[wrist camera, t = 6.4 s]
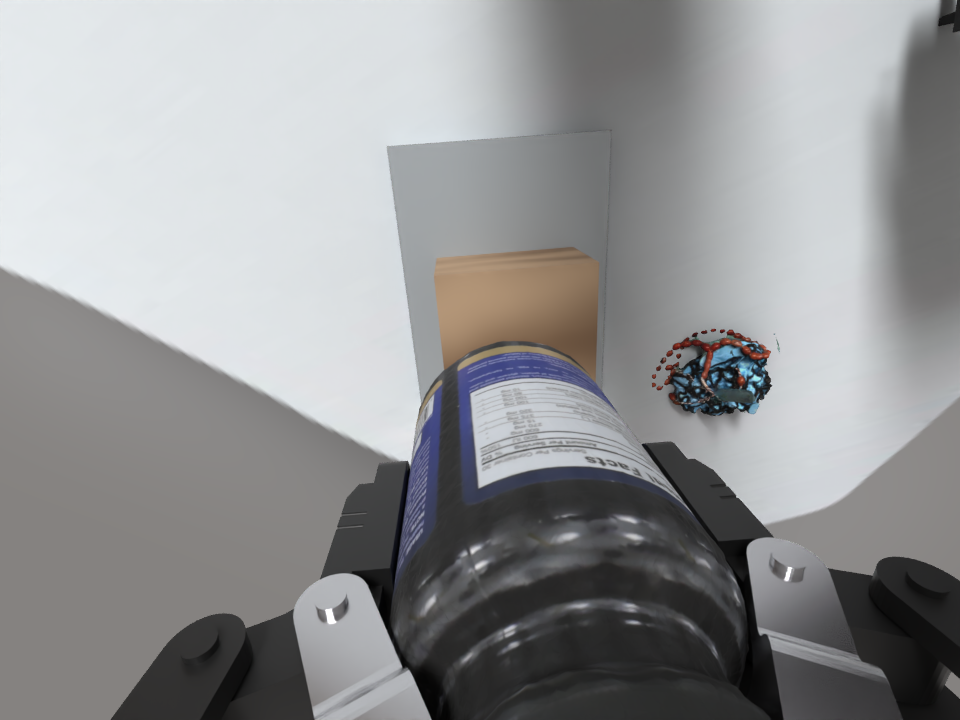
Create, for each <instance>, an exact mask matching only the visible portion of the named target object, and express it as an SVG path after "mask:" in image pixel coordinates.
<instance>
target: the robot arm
mask: <svg viewBox="0 0 960 720" xmlns="http://www.w3.org/2000/svg"><path fill="white" fill-rule="evenodd" d="M642 446H643V448H644V449H645V450H646V452H647V453H648V454H649V456H650V457H651V459H652V460H653V461H654V463H655V464H656V465H657V467H658V468H659V469H660V471H661V472H662V474H663V475H664V476H665V478H666V479H667V480H668V481H669V483H670V484H671V485H672V487H673V488H674V490H675V491H676V492H677V493H678V494H679V496H680V497H681V499H682V500H683V502H684V503H685V504H686V506H687V507H688V508H689V509H690V511H691V512H692V513H693V515H694V516H695V518H696V519H697V520H698V522H699V523H700V524H701V526H702V527H703V528H704V529H705V531H706V532H707V533H708V535H709V536H710V537H711V538H712V539H713V540H714V541H715V542H716V544H717V545H718V547H719V548H720V549H721V551H722V552H723V553H724V555H725V559H726V562H727V563H728V564H729V566H730V567H731V569H732V571H733V573H734V575H735V577H736V579H737V584H738V586H739V588H740V590H741V594H742V596H743V599H744V602H745V610H746V614H747V622H748V647H749V651H748V653H747V656H746V662H745V669H744V672H743V674H742V679H741V682H740V686H739V688H738V689H739V690H740V691H741V693H742V694H743V695H744V696H745V697H746V698H747V699H748V700H749V701H750V702H752V703H753V704H755V705H756V706H758V707H760V708H761V709H763V710H764V711H765V713H766V714H767V715H768V716H769V717H770V719H771V720H960V699H959V698H958V697H957V696H956V695H955V694H954V693H953V692H952V691H950V690H949V689H948V688H947V687H946V686H945V683H946V681H947V679H948V677H949V675H950V673H951V671H952V672H953V673H954V674H955V675H956V676H957V677H958V678H960V581H959V580H958V579H956V578H954V577H953V576H951V575H950V574H948V573H946V572H944V571H943V570H940V569H939V568H936V567H934V566H932V565H929V564H927V563H924V562H921V561H918V560H914V559H910V558H904V557H888V558H884V559H882V560H880V561H879V562H878V564H877V566H876V569H875V571H874V574H873V576H871V575H864V574H858V573H852V572H846V571H840V570H834V569H829V568H827V567H826V565H825V564H824V563H823V562H822V561H821V560H820V559H819V558H818V557H817V556H816V555H815V554H813V553H812V552H810V551H809V550H807V549H806V548H803V547H802V546H800V545H798V544H795V543H793V542H790V541H787V540H783V539H779V538H774V537H773V536H772V535H771V533H770V532H769V531H768V530H767V529H766V528H765V527H764V526H763V525H762V523H761V522H760V521H759V520H758V519H757V518H756V517H755V516H754V515H753V514H752V512H751V511H750V510H749V509H748V508H747V507H746V506H745V505H744V504H743V502H742V501H741V500H740V499H739V498H736V495H735V494H734V493H733V491H732V490H731V489H730V488H729V487H726V484H725V483H724V481H723V480H722V479H721V478H720V477H719V476H718V475H717V474H716V473H715V472H714V470H712V469H711V468H709V467H707V466H706V465H704V464H702V463H701V462H699V461H697V460H696V459H687V458H686V457H685V456H684V454H683V453H682V452H681V451H680V450H679V448H678V447H677V446H676V445H675V444H674V443H673V442H658V443H645V444H642ZM409 475H410V467H409V463H408V461H400V462H387V463H380V464H379V466H378V469H377V474H376V477H375V481H374V483H369V484H359V485H358V486H357V487H356V489H355V490H354V491H353V492H352V493H351V494H350V495H349V496H348V497H347V499H346V502H345V505H344V508H343V511H342V517H340V520H339V523H338V526H337V527H338V529H337V530H336V533H335V536H334V539H333V542H332V545H331V548H330V551H329V554H328V557H327V560H326V563H325V566H324V569H323V572H322V575H321V578H320V580H319V581H317V582H315V583H314V584H312V585H311V586H310V587H309V588H307V589H306V591H305V592H304V593H303V594H302V595H301V597H300V598H299V599H298V601H297V603H296V605H295V608H294V609H293V610H291V611H289V612H288V613H286V614H284V615H281V616H279V617H276V618H274V619H271V620H268V621H265V622H262V623H260V624H257V625H254V626H252V627H249V628H245V625H244V623H243V621H242V620H241V619H240V618H239V617H237V616H235V615H232V614H215V615H211V616H208V617H204V618H202V619H200V620H198V621H196V622H194V623H192V624H190V625H189V626H187V627H186V628H184V629H183V630H182V631H180V632H179V633H178V634H176V635H175V636H174V637H173V638H172V639H171V640H170V641H169V642H168V644H167V645H166V646H165V647H164V648H163V650H162V651H161V652H160V654H159V655H158V657H157V658H156V659H155V661H154V662H153V663H152V665H151V666H150V667H149V669H148V670H147V671H146V673H145V674H144V675H143V677H142V678H141V680H140V681H139V682H138V684H137V685H136V686H135V688H134V689H133V690H132V692H131V693H130V694H129V696H128V697H127V698H126V700H125V701H124V702H123V704H122V705H121V707H120V708H119V709H118V710H117V712H116V713H115V714H114V716H113V717H112V719H111V720H432V719H431V717H430V715H429V713H428V710H427V708H426V706H425V703H424V701H423V699H422V696H421V694H420V692H419V690H418V687H417V685H416V683H415V681H414V678H413V676H412V674H411V672H410V671H409V669H408V668H407V667H404V668H403V667H402V665H401V663H400V661H399V659H398V656H397V654H396V652H395V649H394V647H393V644H392V642H391V640H390V637H389V635H388V633H387V630H388V623H389V616H390V612H391V606H392V598H393V592H394V585H395V577H396V569H397V562H398V555H399V547H400V537H401V534H402V526H403V518H404V512H405V504H406V498H407V490H408V482H409Z"/></svg>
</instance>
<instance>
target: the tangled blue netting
mask: <svg viewBox="0 0 960 720" xmlns="http://www.w3.org/2000/svg"><path fill="white" fill-rule="evenodd" d="M714 331H716V329H711V332H714ZM723 332H725V330H724V329H723V330H720V333H723ZM697 334H698V333H697V332H696V333H694V334H693V335H692V337H695V339H692V340H689V338H686V339H685V340H684V341H683V342H682V343H676V344H674V345H673V350H677V349H679V348H680V349H681V350H682V349H684V347H689V346H691V345H693V346H701V348H702V349H703V354H702V355H700V356H698V357H697V358H696V359H694V360H692V361H690V362H689V363H687V364H686V365H685V367H684V368H682V369H680V368H679V362H677V363H676V364H674V365H673V366H672V365H667V366H666V368H665V370H671V373H670V376H668V379H667V380H666V381H665V383H664V384H665V385H668V384H672V385H674V386H675V387H676V389H675V392H674V393H670V394H669V398H670V399H671V400H672V401H673V403H674V404H676V405H681V406H682V407H683V410H685V411H690V412H691V413H696V410H697V409H698V408H700V409H701V412H702V413H704V414H708V415H711V416H712V415H713V416H715V415H722V414H723V413H728V414H731V413H733V412H734V409H736V408H738V409H739V410H740V411H741V412H744V411H745V410H746V411H747V412H748V413H750V414H755V413H756V411H757V409H758V407H759V402H758V401H759V399H760V400H763V399H764V395H766V394H767V392H768V391H769V390H770V387H772V385H771V384H770V382H771V378H770V377H769V376H768V372H767V371H766V370H765V369H764V366H765V365H767V363H766V362H767V358H768V357H769V354H770V353H771V351H769V350H766V347H765V346H764V345H759V344H758V342H757V341H751V339H750V338H745V337H744V336H742V335H741V334H740V333H734V331H733V330H729V331H728V332H727V337H726V338H722V339H719V340H716V341H712V342H709V343H705V342H702V341H700V340H699V338H698V337H697ZM701 334H707V330H705V331H702V332H701ZM774 335H775V334H774ZM776 339H777V338H776ZM777 344H778V341H777ZM779 349H780V348H779V344H778V350H779ZM672 354H673V351H672V350H671V351H668V352H667V354H666V356H667V357H669V356H671V355H672ZM676 357H677V358H678V359H679V358H680V357H681V354H677V355H676ZM660 362H661V363H662V364H663V363H665V362H666V358H662V360H661V361H660ZM674 367H677V368H676V369H674ZM660 369H661V367H660V366H658V367H657V368H656V370H657V371H660ZM652 378H653V379H655V378H656V374H655V375H652ZM655 386H656V383H652V387H655ZM662 388H663V386H662V387H661V386H658V387H657V390H661V389H662ZM732 411H733V412H732Z"/></svg>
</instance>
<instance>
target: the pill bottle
mask: <svg viewBox="0 0 960 720" xmlns="http://www.w3.org/2000/svg"><path fill="white" fill-rule="evenodd" d="M387 633H388V635H389V637H390V640H391V642H392V644H393V647H394V649H395V652H396V654H397V656H398V659H399V661H400V663H401V665H402V667H403V668H404V667H407V668H408V669H409V671H410V672H411V674H412V676H413V678H414V681H415V683H416V685H417V687H418V690H419V692H420V694H421V696H422V699H423V701H424V703H425V706H426V708H427V710H428V713H429V715H430V717H431V719H432V720H771V719H770V717H769V716H768V715H767V714H766V713H765V711H764V710H763V709H761V708H760V707H758V706H756V705H755V704H753V703H752V702H750V701H749V700H748V699H747V698H746V697H745V696H744V695H743V694H742V693H741V691H740V690H739V689H738V688H739V686H740V682H741V679H742V674H743V672H744V669H745V662H746V656H747V653H748V651H749V647H748V622H747V614H746V610H745V602H744V599H743V596H742V594H741V590H740V588H739V586H738V584H737V579H736V577H735V575H734V573H733V571H732V569H731V567H730V566H729V564H728V563H727V562H726V559H725V555H724V553H723V552H722V551H721V549H720V548H719V547H718V545H717V544H716V542H715V541H714V540H713V539H712V538H711V537H710V536H709V535H708V533H707V532H706V531H705V529H704V528H703V527H702V526H701V524H700V523H699V522H698V520H697V519H696V518H695V516H694V515H693V513H692V512H691V511H690V509H689V508H688V507H687V506H686V504H685V503H684V502H683V500H682V499H681V497H680V496H679V494H678V493H677V492H676V491H675V490H674V488H673V487H672V485H671V484H670V483H669V481H668V480H667V479H666V478H665V476H664V475H663V474H662V472H661V471H660V469H659V468H658V467H657V465H656V464H655V463H654V461H653V460H652V459H651V457H650V456H649V454H648V453H647V452H646V450H645V449H644V448H643V446H642V445H641V444H640V442H639V441H638V440H637V438H636V437H635V436H634V434H633V433H632V431H631V430H630V429H629V427H628V426H627V425H626V423H625V422H624V421H623V419H622V418H621V417H620V415H619V414H618V413H617V411H616V410H615V408H614V407H613V406H612V404H611V403H610V402H609V400H608V399H607V398H606V396H605V395H604V393H603V392H602V391H601V389H600V388H599V387H598V385H597V384H596V382H595V381H594V380H593V378H592V377H591V376H590V375H589V373H588V372H587V371H586V370H585V369H584V368H583V367H582V366H581V365H580V364H579V363H578V362H577V361H576V360H574V359H573V358H572V357H571V356H569V355H567V354H565V353H563V352H561V351H559V350H557V349H555V348H553V347H550V346H548V345H544V344H539V343H534V342H527V341H501V342H496V343H493V344H490V345H487V346H483V347H481V348H478V349H476V350H473V351H471V352H469V353H468V354H466V355H465V356H464V357H462V358H461V359H459V360H457V361H456V362H455V363H453V364H452V365H451V366H449V367H448V368H447V369H445V370H444V371H442V373H441V374H440V375H439V376H438V377H437V378H436V379H435V380H434V382H433V383H432V385H431V386H430V388H429V390H428V391H427V393H426V394H425V397H424V399H423V403H422V405H421V406H420V409H419V415H418V419H417V424H416V430H415V438H414V446H413V452H412V460H411V468H410V475H409V482H408V490H407V498H406V504H405V512H404V518H403V526H402V534H401V537H400V547H399V555H398V562H397V569H396V577H395V585H394V592H393V598H392V606H391V612H390V616H389V623H388V630H387Z"/></svg>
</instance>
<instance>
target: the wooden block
mask: <svg viewBox="0 0 960 720" xmlns="http://www.w3.org/2000/svg"><path fill="white" fill-rule="evenodd" d="M434 282H435V291H436V300H437V309H438V318H439V328H440V337H441V346H442V355H443V364H444V370H445V369H447V368H448V367H449V366H451V365H452V364H453V363H455V362H456V361H457V360H459V359H461V358H462V357H464V356H465V355H466V354H468V353H469V352H471V351H473V350H476V349H478V348H481V347H483V346H487V345H490V344H493V343H496V342H501V341H527V342H534V343H539V344H544V345H548V346H550V347H553V348H555V349H557V350H559V351H561V352H563V353H565V354H567V355H569V356H571V357H572V358H573V359H574V360H576V361H577V362H578V363H579V364H580V365H581V366H582V367H583V368H584V369H585V370H586V371H587V372H588V373H589V375H590V376H591V377H592V378H593V380H594V381H595V382H596V352H597V320H598V288H599V262H598V261H596V260H595V259H593V258H591V257H589V256H588V255H586V254H584V253H583V252H581V251H579V250H578V249H576V248H574V247H566V248H553V249H541V250H529V251H516V252H504V253H492V254H479V255H467V256H454V257H442V258H437V259H436V266H435V272H434Z"/></svg>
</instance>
